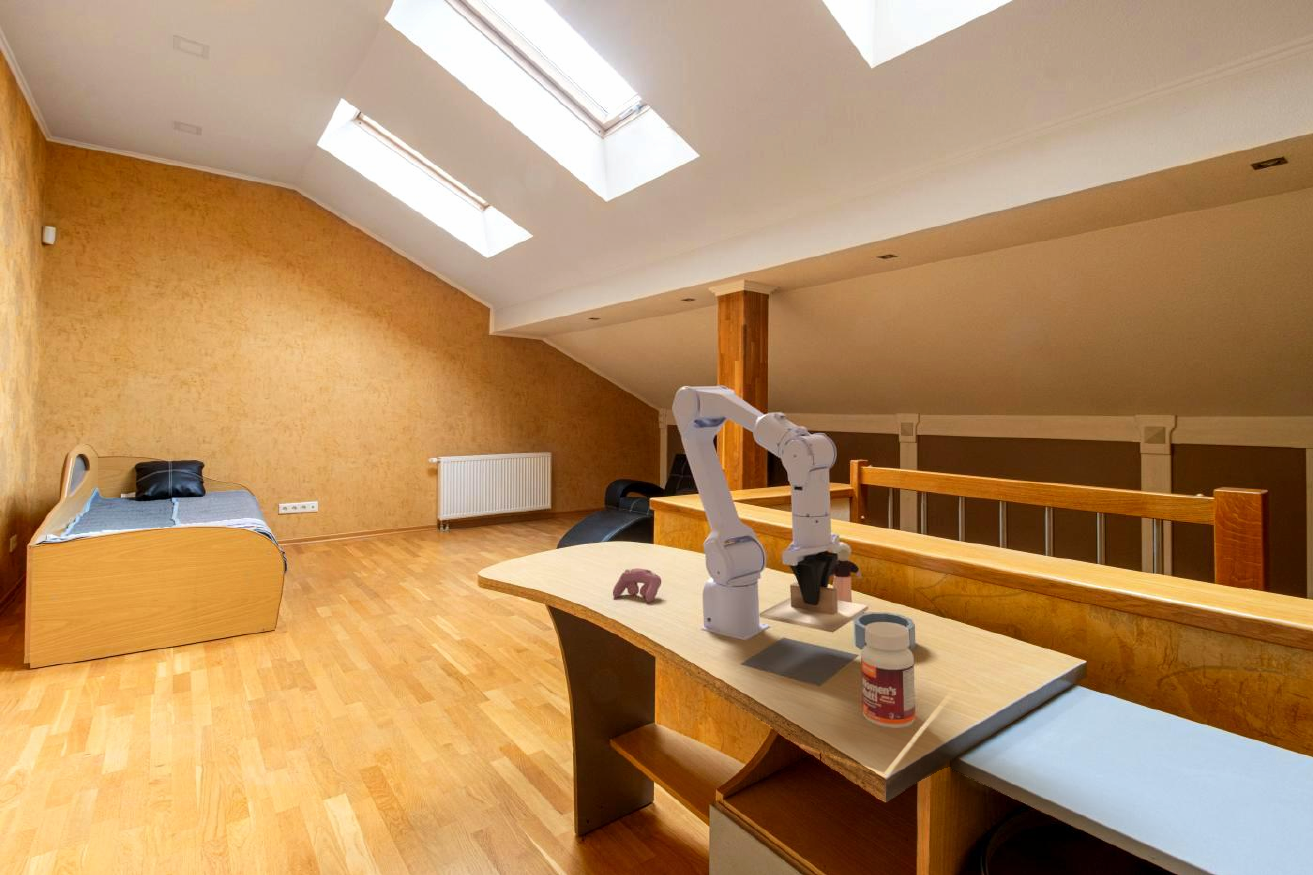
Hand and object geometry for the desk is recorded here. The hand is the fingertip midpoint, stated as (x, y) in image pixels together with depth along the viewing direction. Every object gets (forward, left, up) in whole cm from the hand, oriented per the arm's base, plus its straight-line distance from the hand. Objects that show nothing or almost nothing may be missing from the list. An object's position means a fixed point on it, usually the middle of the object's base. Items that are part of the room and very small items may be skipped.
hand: (814, 601), depth 96 cm
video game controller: (-45, +9, -9) cm, 47 cm away
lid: (0, 0, -2) cm, 2 cm away
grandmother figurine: (-7, +25, -9) cm, 27 cm away
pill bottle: (+15, -11, -9) cm, 21 cm away
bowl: (+6, +11, -9) cm, 15 cm away
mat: (-2, -2, -9) cm, 9 cm away
